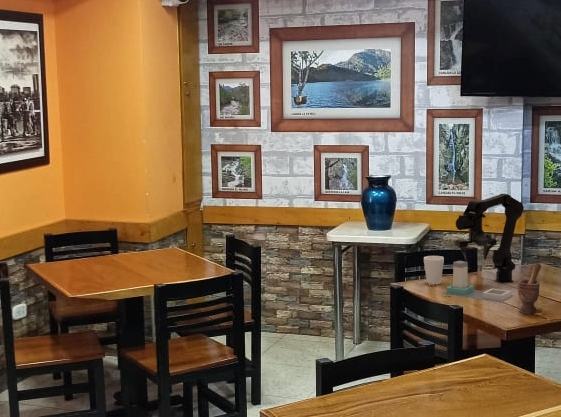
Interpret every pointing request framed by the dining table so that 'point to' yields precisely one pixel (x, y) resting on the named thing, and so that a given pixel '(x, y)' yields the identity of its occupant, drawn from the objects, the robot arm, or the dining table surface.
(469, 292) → the socket board
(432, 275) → the foam cup
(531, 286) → the mortar and pestle
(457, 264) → the plug block
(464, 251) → the robot arm
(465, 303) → the dining table surface
